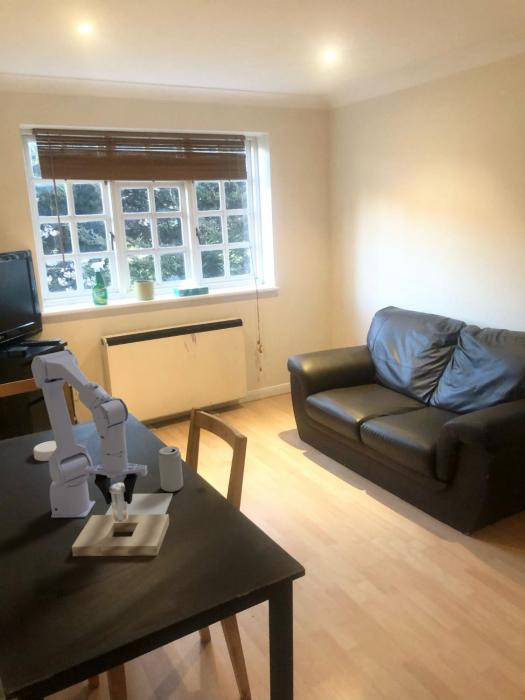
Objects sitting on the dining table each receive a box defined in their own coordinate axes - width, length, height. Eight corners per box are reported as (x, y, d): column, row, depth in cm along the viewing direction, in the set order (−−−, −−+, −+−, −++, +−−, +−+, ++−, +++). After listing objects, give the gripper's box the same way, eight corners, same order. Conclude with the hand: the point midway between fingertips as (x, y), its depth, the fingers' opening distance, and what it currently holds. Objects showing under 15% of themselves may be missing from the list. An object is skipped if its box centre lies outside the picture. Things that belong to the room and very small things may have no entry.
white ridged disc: (33, 453, 189) (32, 443, 188) (63, 447, 193) (62, 438, 192) (35, 464, 180) (33, 454, 179) (67, 457, 184) (65, 448, 183)
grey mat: (104, 517, 145) (104, 516, 145) (117, 495, 157) (117, 494, 156) (164, 516, 144) (164, 515, 144) (173, 494, 156) (172, 493, 156)
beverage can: (178, 494, 156) (175, 455, 153) (157, 492, 157) (154, 453, 155) (186, 483, 162) (183, 445, 159) (165, 482, 163) (162, 444, 161)
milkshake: (115, 527, 130) (111, 488, 128) (109, 517, 134) (106, 480, 132) (134, 522, 132) (131, 483, 130) (127, 512, 137) (124, 475, 135)
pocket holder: (73, 556, 128) (71, 546, 128) (93, 523, 142) (92, 515, 141) (157, 555, 128) (156, 545, 127) (169, 522, 141) (168, 514, 141)
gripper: (77, 457, 126) (84, 511, 129) (140, 456, 125) (145, 510, 128) (88, 445, 133) (94, 496, 136) (147, 444, 132) (152, 495, 135)
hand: (119, 502), depth 133 cm, fingers closed on milkshake, 4 cm apart
